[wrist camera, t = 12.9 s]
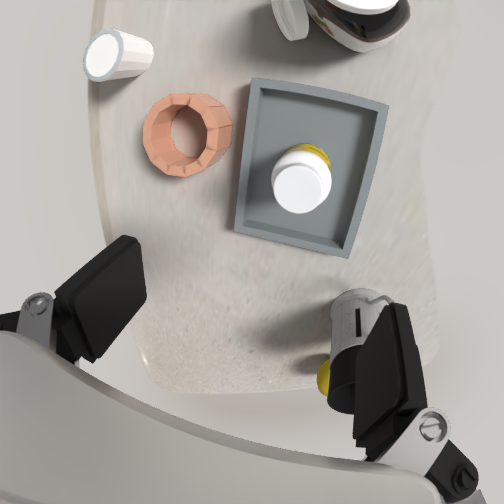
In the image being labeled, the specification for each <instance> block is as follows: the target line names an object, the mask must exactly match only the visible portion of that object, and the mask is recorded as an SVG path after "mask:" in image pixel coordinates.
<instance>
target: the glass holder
mask: <svg viewBox="0 0 504 504" xmlns="http://www.w3.org/2000/svg"><path fill="white" fill-rule="evenodd" d="M385 300H386V301H387V302H388V304H390V303H391V302H394V301H393V300H392V299H391V298H390V297H388V296H385V295H383V296H382V295H380V294H379V293H377V292H375V291H373V290H370V289H353V290H349V291H347V292H345V293H343V294H341V295H340V296H339V297H337V298H336V299H335V301H334V302H333V304H332V306H331V309H330V317H331V320H332V322H333V324H332V339H331V352H330V363H329V370H330V379H329V388H328V397H327V402H328V404H329V406H330V407H331V408H332V409H334V410H336V411H338V412H341V413H345V414H353V415H354V406H355V381H356V358H357V354H358V352H359V350H360V349H361V347H362V345H363V344H364V342H365V340H366V339H367V337H368V335H369V333H370V332H371V330H372V328H373V326H374V324H375V322H376V321H377V319H378V317H379V315H380V313H381V311H382V309H383V308H384V306H385V305H387V303H386V301H385ZM394 303H395V302H394Z"/></svg>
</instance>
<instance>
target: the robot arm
mask: <svg viewBox="0 0 504 504" xmlns="http://www.w3.org/2000/svg"><path fill="white" fill-rule="evenodd" d="M54 293H55V295H56V298H55V299H54V300H53V298H52V296H51V295H50V294H48V293H44V292H43V293H37V294H34V295H31V296H30V297H29V298H28V299H26V300H25V302H24V303H23V305H22V307H21V311H16V312H11V313H6V314H1V315H0V504H486V502H485V499H484V497H483V495H482V493H481V490H480V489H479V490H476V487H477V485H478V472H477V469H476V467H475V466H474V465H473V463H471V461H470V460H469V459H468V458H467V457H466V456H465V455H464V454H463V453H462V452H461V451H460V450H459V449H458V448H457V447H456V446H455V445H454V444H453V443H452V442H451V441H450V440H449V436H450V434H451V425H450V421H449V419H448V417H447V416H446V415H445V413H444V412H442V411H441V410H439V409H437V408H433V407H429V408H428V407H427V398H426V391H425V384H424V378H423V372H422V366H421V360H420V355H419V350H418V347H417V345H416V344H415V339H414V334H413V330H412V325H411V321H410V317H409V313H408V309H407V306H406V305H403V304H399V303H394V302H391V303H390V304H389V305H385V306H384V308H383V309H382V311H381V313H380V315H379V317H378V319H377V321H376V322H375V324H374V326H373V328H372V330H371V332H370V333H369V335H368V337H367V339H366V340H365V342H364V344H363V345H362V347H361V349H360V350H359V352H358V354H357V358H356V381H355V406H354V423H353V439H356V447H364V448H366V457H364V458H363V459H362V460H361V461H359V460H350V459H341V458H333V457H326V456H320V455H314V454H308V453H302V452H297V451H291V450H286V449H281V448H277V447H272V446H268V445H264V444H260V443H256V442H252V441H248V440H244V439H241V438H237V437H234V436H230V435H227V434H224V433H221V432H218V431H215V430H211V429H209V428H206V427H203V426H199V425H197V424H194V423H192V422H189V421H186V420H183V419H181V418H178V417H176V416H173V415H171V414H169V413H166V412H164V411H161V410H159V409H157V408H155V407H152V406H150V405H148V404H146V403H143V402H141V401H139V400H137V399H135V398H133V397H131V396H129V395H127V394H125V393H123V392H121V391H119V390H117V389H115V388H113V387H111V386H109V385H108V384H106V383H104V382H102V381H100V380H98V379H97V378H95V377H93V376H92V375H90V374H88V373H86V372H85V371H83V370H82V369H80V368H79V359H80V357H81V356H82V357H83V358H84V359H86V360H88V361H89V362H91V363H94V362H95V360H96V359H97V358H101V357H102V355H103V354H104V353H105V352H106V350H107V349H108V348H109V346H110V345H111V344H112V343H113V341H114V340H115V339H116V338H117V336H118V335H119V334H120V332H121V331H122V330H123V329H124V327H125V326H126V325H127V324H128V322H129V321H130V320H131V319H132V318H133V316H134V315H135V314H136V313H137V311H138V310H139V309H140V308H141V307H142V305H143V304H144V303H145V301H146V298H147V293H146V286H145V279H144V271H143V263H142V254H141V245H140V243H139V242H138V240H137V239H136V238H135V237H131V236H127V235H122V236H120V237H119V238H118V239H116V240H115V241H114V242H113V243H111V244H110V245H109V246H107V247H106V248H105V249H104V250H102V251H101V252H100V253H99V254H98V255H96V256H95V257H94V258H93V259H92V260H90V261H89V262H88V263H87V264H85V265H84V266H83V267H82V268H81V269H80V270H78V272H76V273H75V274H74V275H73V276H71V278H69V279H68V280H67V281H66V282H65V283H64V284H62V285H61V286H60V287H59V288H58V289H57V290H56V291H55V292H54Z"/></svg>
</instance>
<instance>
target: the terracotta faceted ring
mask: <svg viewBox="0 0 504 504" xmlns="http://www.w3.org/2000/svg"><path fill="white" fill-rule="evenodd" d="M187 105H188V106H190V107H191V108H193V109H194V110H196V111H197V112H198V113H200V114H201V116H202V118H203V120H204V123H205V125H206V127H207V130H208V132H207V143H206V148H205V150H204V151H203V153H202V154H201V155H200V157H199V158H192V157H187V156H185V155H184V154H183V153H181V152H180V151H179V150H178V149H176V147H175V144H174V142H173V140H172V138H171V122H172V120H173V118H174V117H175V115H176V113H177V112H178V110H179V109H181V108H183V107H185V106H187ZM232 128H233V125H232V122H231V119H230V117H229V115H228V112H227V110H226V108H225V106H224V105H223V104H221V103H220V102H218V101H217V100H216V99H214V98H213V97H211V96H210V95H207V94H169V95H168V96H166V97H165V98H163V99H161V100H160V101H158V102H157V103H155V104H154V105H153V106H152V108H151V109H150V111H149V113H148V115H147V117H146V119H145V121H144V123H143V143H144V144H143V145H144V147H145V150H146V152H147V154H148V156H149V159H150V161H152V163H153V164H154V165H155V166H157V167H158V168H159V169H160V170H162V171H163V172H164V173H165V174H167V175H174V176H180V177H188V176H190V175H192V174H194V173H197V172H199V171H201V170H204V169H205V168H207V167H209V166H211V165H212V164H214V163H216V162H218V161H219V160H220V159H221V158H222V156H223V155H224V153H225V152H226V151H227V149H228V148H229V147H230V145H231V137H232Z"/></svg>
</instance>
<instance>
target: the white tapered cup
mask: <svg viewBox="0 0 504 504" xmlns="http://www.w3.org/2000/svg"><path fill="white" fill-rule="evenodd" d="M152 59H153V47H152V46H151V44H150V42H148V41H146V40H145V39H142V38H139V37H136V36H133V35H131V34H128V33H125V32H121V31H118V30H115V29H105V30H103V31H101V32H99V33H97V34H96V35H95V36H94V37H93V38H92V39H91V41H90V42H89V44H88V46H87V48H86V50H85V54H84V58H83V68H84V71H85V74H86V76H87V77H88V78H89V79H90V80H92V81H97V82H101V81H107V80H113V79H120V78H127V77H135V76H138V75H141V74H142V73H143V72H145V71H146V70H147V69H148V67H149V66H150V64H151V62H152Z"/></svg>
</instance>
